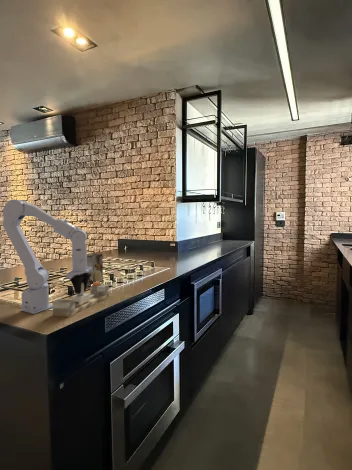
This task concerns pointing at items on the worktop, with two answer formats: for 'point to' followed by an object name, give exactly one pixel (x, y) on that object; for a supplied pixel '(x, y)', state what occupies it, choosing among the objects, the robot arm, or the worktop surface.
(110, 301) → the worktop surface
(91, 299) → the rail base
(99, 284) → the button
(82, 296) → the carriage
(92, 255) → the coffee box
